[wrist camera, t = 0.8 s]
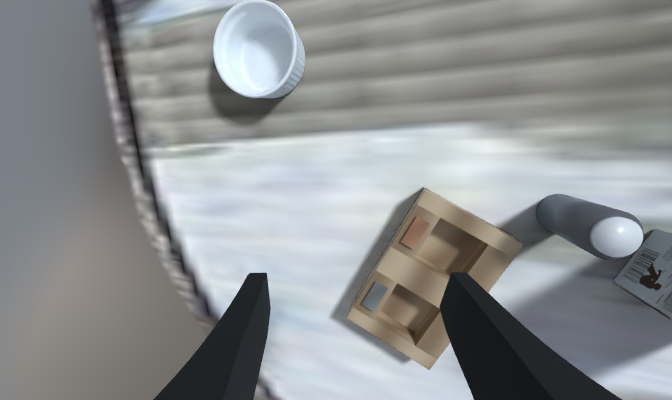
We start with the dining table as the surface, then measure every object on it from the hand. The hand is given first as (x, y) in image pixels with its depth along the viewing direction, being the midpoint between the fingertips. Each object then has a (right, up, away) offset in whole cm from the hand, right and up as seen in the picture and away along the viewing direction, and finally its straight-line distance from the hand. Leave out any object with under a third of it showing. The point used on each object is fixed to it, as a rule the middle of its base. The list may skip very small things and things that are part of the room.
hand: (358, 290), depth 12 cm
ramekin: (-8, +19, +21) cm, 29 cm away
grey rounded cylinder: (+20, +2, +17) cm, 27 cm away
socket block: (+9, -4, +21) cm, 23 cm away
